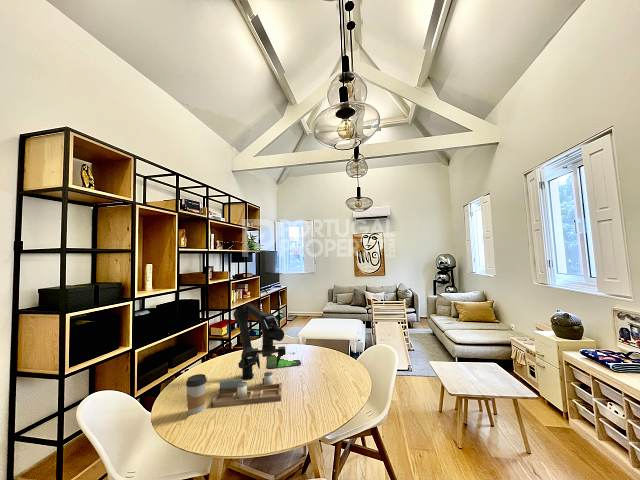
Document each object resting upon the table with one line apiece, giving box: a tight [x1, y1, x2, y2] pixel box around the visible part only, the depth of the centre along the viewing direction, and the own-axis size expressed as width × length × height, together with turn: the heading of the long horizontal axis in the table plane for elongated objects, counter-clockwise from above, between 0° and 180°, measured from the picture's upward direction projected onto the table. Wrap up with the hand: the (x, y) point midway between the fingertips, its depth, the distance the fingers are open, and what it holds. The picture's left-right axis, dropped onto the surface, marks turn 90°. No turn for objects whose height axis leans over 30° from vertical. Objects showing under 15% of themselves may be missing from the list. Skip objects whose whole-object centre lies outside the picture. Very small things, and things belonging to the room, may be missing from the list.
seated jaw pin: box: [237, 381, 248, 399], centre depth 124 cm, size 4×4×7 cm
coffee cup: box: [185, 373, 207, 416], centre depth 115 cm, size 8×8×15 cm
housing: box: [210, 377, 283, 408], centre depth 126 cm, size 16×31×6 cm, turn 97°
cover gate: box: [219, 378, 243, 389], centre depth 133 cm, size 2×11×4 cm, turn 97°
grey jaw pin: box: [263, 371, 274, 385], centre depth 138 cm, size 4×4×7 cm
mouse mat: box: [266, 354, 302, 370], centre depth 176 cm, size 27×22×1 cm
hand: (268, 368), depth 139 cm, fingers open, 9 cm apart
